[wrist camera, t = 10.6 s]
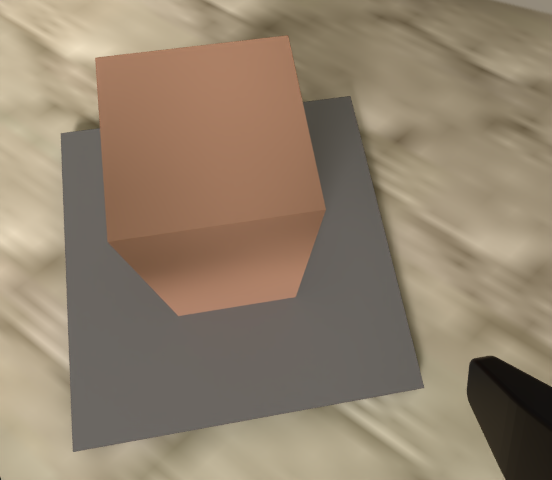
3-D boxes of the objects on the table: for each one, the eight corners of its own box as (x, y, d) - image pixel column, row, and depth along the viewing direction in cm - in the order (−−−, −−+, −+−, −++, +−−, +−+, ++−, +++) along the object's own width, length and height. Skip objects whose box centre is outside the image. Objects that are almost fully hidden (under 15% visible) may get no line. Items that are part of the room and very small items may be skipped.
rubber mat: (416, 388, 21) (424, 387, 20) (81, 449, 20) (72, 452, 19) (346, 107, 25) (350, 96, 24) (68, 143, 24) (60, 133, 23)
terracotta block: (295, 297, 21) (326, 209, 11) (178, 316, 20) (107, 241, 11) (276, 191, 22) (288, 35, 13) (166, 206, 22) (95, 57, 12)
